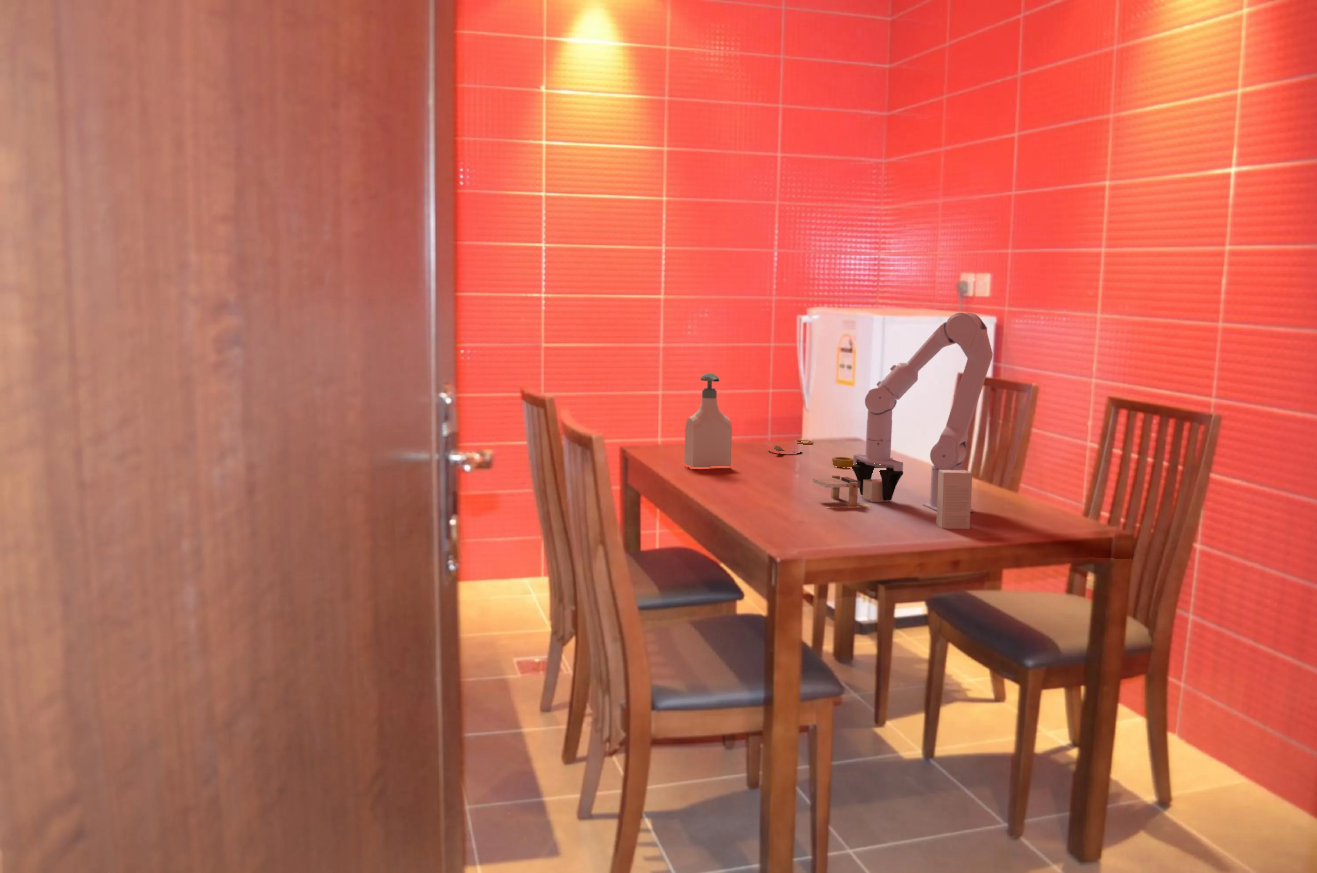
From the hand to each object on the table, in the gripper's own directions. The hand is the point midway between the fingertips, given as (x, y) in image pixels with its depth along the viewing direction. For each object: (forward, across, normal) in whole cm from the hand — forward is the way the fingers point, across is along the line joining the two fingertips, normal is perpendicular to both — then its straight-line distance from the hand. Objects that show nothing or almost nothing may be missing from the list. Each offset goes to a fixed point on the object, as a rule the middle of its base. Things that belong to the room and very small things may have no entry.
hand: (875, 497), depth 247 cm
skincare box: (+2, -28, +5) cm, 28 cm away
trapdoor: (-4, +1, +9) cm, 10 cm away
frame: (+2, +1, +9) cm, 9 cm away
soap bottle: (+2, +52, +12) cm, 53 cm away
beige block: (+2, 0, 0) cm, 2 cm away
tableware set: (+2, +53, -28) cm, 60 cm away
